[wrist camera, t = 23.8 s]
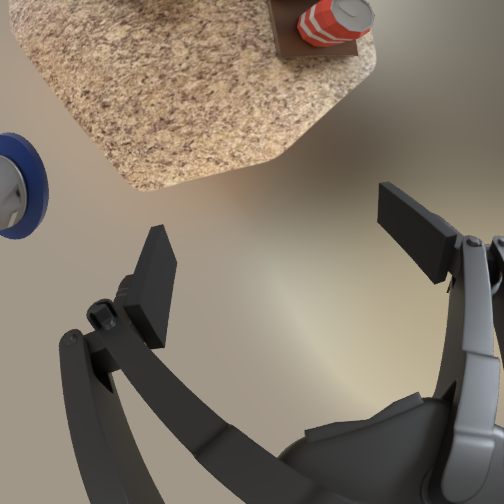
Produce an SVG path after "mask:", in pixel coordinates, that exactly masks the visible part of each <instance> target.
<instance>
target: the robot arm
mask: <svg viewBox="0 0 504 504" xmlns="http://www.w3.org/2000/svg"><path fill="white" fill-rule="evenodd" d="M28 201H29V192H28V185H27V181H26V178H25V176H24V173H23V171H22V169H21V168H20V166H19V165H18V164H17V162H16V161H15V160H14V159H12V158H11V157H9V156H7V155H4V154H0V231H1V230H4V229H6V228H9V227H12V226H13V225H15V224H16V223H18V222H19V221H20V220H21V219H22V218H23V216H24V215H25V213H26V210H27V207H28ZM377 222H378V223H379V224H380V225H381V226H382V227H383V228H384V229H385V230H386V231H387V232H388V233H389V234H390V235H391V237H392V238H393V239H394V240H395V241H396V242H397V243H398V244H399V245H400V246H401V247H402V248H403V249H404V250H405V251H406V252H407V254H408V255H409V256H410V257H411V258H412V259H413V260H414V261H415V263H416V264H418V266H419V267H420V268H421V269H422V271H423V272H424V273H425V274H426V275H427V276H428V278H429V279H430V280H431V281H432V282H433V283H434V284H438V283H440V282H443V281H445V279H446V276H447V272H448V271H449V272H450V273H451V274H452V278H451V281H450V284H449V287H448V290H447V293H449V290H450V296H449V309H448V320H447V328H446V336H445V343H444V349H443V355H442V361H441V366H440V372H439V376H438V381H437V385H436V389H435V392H434V395H433V397H432V398H431V397H426V398H421V396H420V394H419V392H416V393H414V394H412V395H410V396H407V397H405V398H403V399H400V400H398V401H395V402H393V403H392V404H391V405H389V406H388V407H386V408H385V409H384V410H382V411H381V412H379V413H377V414H376V415H374V416H373V417H371V418H370V419H367V420H360V421H347V422H334V423H331V424H327V425H323V426H320V427H316V428H312V429H308V430H305V437H303V438H301V439H299V440H297V441H296V442H294V443H292V444H291V445H290V446H288V447H287V448H286V449H285V450H284V451H283V452H282V453H281V454H280V455H279V456H278V457H277V458H276V457H275V456H273V455H272V454H271V453H269V452H268V451H266V450H265V449H264V448H262V447H261V446H260V445H258V444H257V443H255V442H254V441H253V440H252V439H250V438H249V437H248V436H246V435H245V434H244V433H242V432H241V431H240V430H239V429H237V428H236V427H234V426H233V425H231V424H228V423H226V422H225V421H224V420H223V419H222V418H220V417H219V416H218V415H217V414H216V413H215V412H214V411H212V410H211V409H210V408H209V407H208V406H207V405H206V404H205V403H203V402H202V401H201V400H200V399H199V398H198V397H197V396H196V395H195V394H194V393H192V391H190V390H189V389H188V388H187V387H186V386H185V385H184V384H183V383H182V382H181V381H180V380H179V379H178V378H177V377H176V376H175V375H174V374H173V373H172V372H171V371H170V370H169V369H168V368H167V367H166V366H165V365H164V364H163V363H162V362H161V361H160V360H159V358H158V357H157V356H156V355H155V354H154V353H153V352H152V351H151V350H150V349H158V348H165V342H166V334H167V326H168V318H169V312H170V305H171V298H172V291H173V284H174V279H175V273H176V267H177V261H176V258H175V255H174V253H173V250H172V248H171V245H170V242H169V239H168V236H167V234H166V231H165V228H164V225H163V224H162V225H158V226H154V227H151V229H150V231H149V234H148V237H147V239H146V241H145V244H144V247H143V249H142V252H141V255H140V257H139V260H138V263H137V265H136V268H135V271H134V274H132V275H127V276H126V277H125V278H124V279H123V280H122V282H121V283H120V285H119V288H118V291H117V293H116V297H115V299H114V302H112V301H111V300H110V299H101V300H99V301H97V302H95V303H94V304H93V305H92V306H90V308H89V309H88V311H87V314H86V315H87V319H88V321H89V322H90V323H91V325H92V326H93V328H94V329H95V331H93V332H90V333H88V334H86V335H83V334H82V333H81V331H79V330H78V329H73V330H70V331H68V332H67V333H65V334H64V335H63V337H62V338H61V340H60V343H59V354H60V368H61V377H62V386H63V395H64V401H65V408H66V414H67V420H68V425H69V430H70V435H71V439H72V444H73V448H74V452H75V456H76V459H77V463H78V467H79V470H80V474H81V477H82V480H83V483H84V486H85V489H86V492H87V495H88V498H89V500H90V503H91V504H165V503H164V501H163V499H162V497H161V495H160V493H159V491H158V489H157V488H156V486H155V484H154V482H153V480H152V478H151V476H150V474H149V472H148V469H147V467H146V465H145V463H144V461H143V459H142V456H141V454H140V452H139V450H138V447H137V445H136V442H135V440H134V438H133V435H132V432H131V430H130V427H129V425H128V422H127V419H126V417H125V414H124V411H123V408H122V405H121V402H120V399H119V396H118V393H117V390H116V387H115V383H114V380H113V376H112V373H111V372H114V371H116V370H119V369H121V370H122V371H123V372H124V374H125V375H126V377H127V378H128V380H129V381H130V382H131V384H132V385H133V386H134V388H135V389H136V390H137V391H138V393H139V394H140V395H141V397H142V398H143V399H144V400H145V402H146V403H147V404H148V405H149V407H150V408H151V409H152V410H153V412H154V413H155V414H156V415H157V416H158V417H159V419H160V420H161V421H162V422H163V423H164V424H165V425H166V427H167V428H168V429H169V430H170V431H171V432H172V433H173V434H174V435H175V436H176V438H177V439H178V440H179V441H180V442H181V443H182V444H183V445H184V446H185V447H186V448H187V449H188V450H189V451H190V452H191V453H192V454H193V456H194V458H195V459H196V460H197V461H198V462H199V463H200V464H201V465H202V466H203V467H204V468H205V469H206V470H207V471H208V472H210V473H211V474H212V475H213V476H214V477H215V478H216V479H217V480H218V481H220V482H221V483H222V484H223V485H224V486H225V487H227V488H228V489H229V490H230V491H231V492H233V493H234V494H235V495H236V496H237V497H239V498H240V499H241V500H242V501H244V502H245V503H246V504H504V428H503V427H500V426H498V425H496V424H495V418H496V411H497V403H498V393H499V379H500V360H499V358H498V357H494V355H493V346H494V345H493V343H494V342H493V341H494V337H493V324H494V328H495V332H496V336H497V340H498V344H499V348H500V353H501V358H502V363H503V368H504V237H503V236H495V237H493V240H492V243H491V244H483V242H482V241H481V240H480V239H478V238H477V237H474V236H469V235H468V236H463V235H462V234H461V233H459V232H458V231H457V230H456V229H455V228H454V227H453V226H450V224H449V223H448V222H446V221H445V220H444V219H443V218H441V217H440V216H438V215H436V214H434V213H431V212H430V211H428V210H427V209H426V208H425V207H423V206H422V205H421V204H419V203H418V202H417V201H415V200H414V199H413V198H411V197H410V196H409V195H407V194H406V193H404V192H403V191H401V190H400V189H399V188H397V187H396V186H394V185H393V184H392V183H390V182H383V183H379V200H378V219H377ZM501 278H502V279H501ZM144 342H145V343H146V344H145V343H144Z"/></svg>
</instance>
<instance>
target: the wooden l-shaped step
mask: <svg viewBox="0 0 504 504" xmlns="http://www.w3.org/2000/svg"><path fill="white" fill-rule="evenodd" d="M319 1H321V0H268V2H267V6H268V11H269V15H270V20H271V25H272V30H273V35H274V40H275V46H276V51H277V56H278V59H286V58H300V57H330V56H340V57H353V56H358V51H357V44H356V39H354V40H350V41H346V42H343V43H339V44H336V45H332V46H329V47H318V46H313V45H312V44H310V43H308V42H307V41H305V40H304V39H303V38H302V36H301V34H300V32H299V30H298V28H297V26H298V21H299V17H300V16H301V15H302V14H303V13H305V12H306V11H307V10H309V9H310V8H311V7H313V6H314V5H315V4H317V3H318V2H319Z"/></svg>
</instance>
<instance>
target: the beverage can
mask: <svg viewBox="0 0 504 504" xmlns="http://www.w3.org/2000/svg"><path fill="white" fill-rule="evenodd" d="M374 16H375V15H374V13H373V11H372V9H371V7H370V4H369V3H368V2H367V1H365V0H321V1H319V2H318V3H317V4H315V5H314V6H313V7H311V8H310V9H309V10H307V11H306V12H305V13H303V14H302V15H301V16H300V17H299V21H298V26H297V28H298V30H299V32H300V34H301V36H302V38H303V39H304V40H305V41H307V42H308V43H310V44H312V45H313V46H318V47H329V46H332V45H336V44H339V43H343V42H346V41H350V40H354V39H358V38H360V37H361V36H363V35H364V34H366V33H367V32H369V31H370V27H372V26H373V21H374Z"/></svg>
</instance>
